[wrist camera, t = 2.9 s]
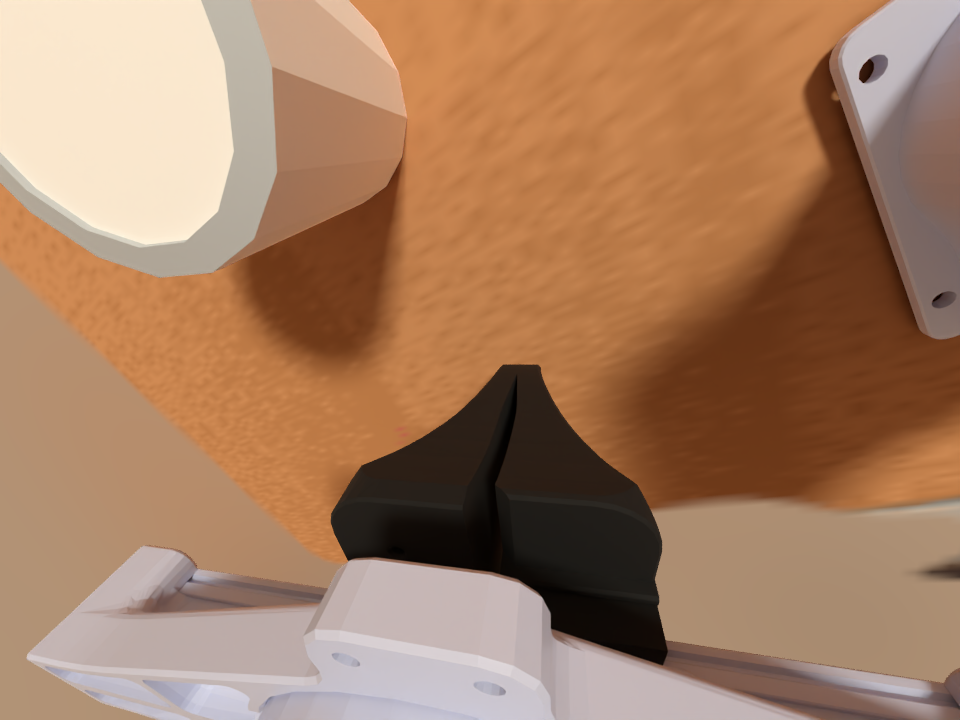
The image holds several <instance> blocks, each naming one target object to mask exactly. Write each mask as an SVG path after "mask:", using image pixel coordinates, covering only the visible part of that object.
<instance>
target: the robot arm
mask: <svg viewBox="0 0 960 720" xmlns="http://www.w3.org/2000/svg"><path fill="white" fill-rule="evenodd" d="M868 59H871V60H872V62H873V63H874V71H873V73H872V75H871V76H870V78H869V79H868V80H867V81H866V82H865V83H862V82H861V81H860V80H859V71H860V69H861V68H862V66H863V64H864V63H865V62H866V61H867V60H868ZM829 66H830V72H831V75H832V78H833V81H834V84H835V87H836V90H837V93H838V96H839V98H840V101H841V104H842V107H843V110H844V113H845V116H846V119H847V122H848V124H849V127H850V130H851V133H852V136H853V139H854V142H855V145H856V148H857V151H858V153H859V156H860V159H861V162H862V165H863V168H864V171H865V174H866V177H867V179H868V182H869V185H870V188H871V191H872V194H873V197H874V200H875V203H876V206H877V208H878V211H879V214H880V217H881V220H882V223H883V226H884V229H885V232H886V234H887V237H888V240H889V243H890V246H891V249H892V252H893V255H894V258H895V261H896V263H897V266H898V269H899V272H900V275H901V278H902V281H903V284H904V287H905V289H906V292H907V295H908V298H909V301H910V304H911V307H912V310H913V313H914V316H915V318H916V321H917V324H918V327H919V330H920V331H921V332H922V333H923V334H925V335H928V336H930V337H932V338H935V339H948V338H952V337H955V336H958V335H960V0H890V1H889V2H888V3H886V4H885V5H884V6H882V7H881V8H880V9H878V10H877V11H876V12H874V13H873V14H872V15H870V16H869V17H867V18H866V19H865V20H863V21H862V22H861V23H859V24H858V25H857V26H855V27H854V28H853V29H851V30H850V31H849V32H847V33H846V34H845V35H844V36H843V37H842V38H841V39H840V40H839V41H838V43H837V45H836V46H835V48H834V49H833V51H832V54H831V57H830V60H829ZM941 293H943V295H942V296H941V297H940V298H939V299H938V300H936V301H934V302H932V301H933V299H934V298H935V297H936V296H937V295H939V294H941ZM331 524H332V528H333V531H334V534H335V536H336V538H337V540H338V542H339V544H340V546H341V548H342V550H343V552H344V554H345V556H346V558H347V560H348V562H347V563H346V564H344V565H343V566H342V567H340V568H339V569H338V570H337V572H336V574H335V576H334V578H333V580H332V582H331V584H330V586H329V588H321V587H315V586H308V585H301V584H294V583H289V582H282V581H276V580H269V579H263V578H256V577H249V576H243V575H236V574H230V573H223V572H217V571H210V570H204V569H197V565H196V564H195V562H194V561H193V560H192V559H191V557H189V556H188V555H187V554H186V553H184V552H182V551H180V550H176V549H172V548H165V547H158V546H151V545H145V546H142V547H141V548H140V549H139V550H138V551H136V553H134V554H133V555H132V556H131V557H130V558H129V559H128V560H127V561H126V562H125V563H124V564H123V565H122V566H120V567H119V569H117V570H116V571H115V572H114V573H113V574H112V575H111V576H110V577H109V578H108V579H107V580H106V581H104V582H103V583H102V584H101V585H100V586H99V587H98V588H97V589H96V590H95V591H94V592H93V593H92V594H91V595H90V596H89V597H88V598H86V599H85V600H84V601H83V602H82V603H81V604H80V605H79V606H78V607H77V608H76V609H75V610H74V611H73V612H72V613H70V614H69V615H68V616H67V617H66V618H65V619H64V620H63V621H62V622H61V623H60V624H59V625H58V626H57V627H56V628H55V629H53V630H52V631H51V632H50V633H49V634H48V635H47V636H46V637H45V638H44V639H43V640H42V641H41V642H40V643H39V644H37V646H35V648H33V649H32V650H31V651H30V652H29V653H28V655H27V660H29V661H30V662H32V663H34V664H36V665H37V666H39V667H41V668H42V669H44V670H46V671H48V672H49V673H51V674H53V675H54V676H56V677H58V678H60V679H61V680H63V681H65V682H66V683H68V684H70V685H72V686H73V687H75V688H77V689H78V690H80V691H82V692H84V693H85V694H87V695H89V696H90V697H92V698H94V699H96V700H97V701H99V702H101V703H103V704H107V705H110V706H114V707H117V708H121V709H124V710H127V711H131V712H135V713H137V714H141V715H144V716H147V717H150V718H153V719H156V720H960V668H958V669H956V670H955V671H953V672H952V673H951V674H950V675H949V676H948V677H947V678H946V680H945V682H944V683H940V682H933V681H926V680H920V679H914V678H907V677H901V676H894V675H888V674H881V673H875V672H868V671H862V670H855V669H849V668H842V667H836V666H829V665H823V664H816V663H810V662H803V661H797V660H790V659H783V658H777V657H771V656H764V655H758V654H751V653H745V652H737V651H732V650H725V649H718V648H712V647H705V646H699V645H692V644H686V643H679V642H673V641H666V640H665V636H664V633H663V628H662V624H661V619H660V615H659V611H658V607H657V605H658V604H659V595H658V591H657V587H656V583H655V576H656V572H657V568H658V565H659V561H660V556H661V553H662V540H661V536H660V532H659V529H658V526H657V524H656V521H655V519H654V517H653V514H652V512H651V510H650V508H649V506H648V504H647V502H646V500H645V498H644V496H643V494H642V492H641V491H640V489H639V487H638V485H637V484H635V483H634V482H633V481H631V480H630V479H628V478H627V477H626V476H624V475H623V474H621V473H620V472H618V471H617V470H616V469H614V468H613V467H611V466H610V465H609V464H607V463H606V462H605V461H604V460H603V459H602V458H600V457H599V456H598V455H597V454H596V453H595V452H594V451H593V450H592V449H591V448H590V447H589V446H588V445H587V444H586V443H585V442H584V441H583V440H582V439H581V438H580V437H579V436H578V435H577V433H576V432H575V431H574V430H573V429H572V427H571V426H570V425H569V424H568V422H567V421H566V420H565V418H564V417H563V416H562V414H561V413H560V411H559V409H558V408H557V406H556V405H555V403H554V401H553V399H552V398H551V396H550V394H549V392H548V390H547V388H546V385H545V383H544V380H543V378H542V374H541V367H540V366H538V365H502V366H501V367H500V368H499V370H498V371H497V372H496V373H495V375H494V376H493V377H492V378H491V380H490V381H489V382H488V383H487V384H486V385H485V386H484V388H483V389H482V390H481V391H480V392H479V393H478V394H477V395H476V396H475V397H474V398H473V399H472V400H471V401H470V402H469V403H468V404H467V405H466V406H465V407H464V408H463V409H462V410H461V411H459V412H458V413H457V414H456V415H455V416H453V417H452V418H451V419H449V420H448V421H447V422H445V423H444V424H443V425H441V426H440V427H438V428H436V429H435V430H433V431H432V432H430V433H429V434H427V435H426V436H424V437H422V438H421V439H419V440H417V441H415V442H413V443H411V444H410V445H408V446H406V447H404V448H402V449H400V450H398V451H395V452H393V453H391V454H389V455H386V456H384V457H381V458H379V459H377V460H374V461H372V462H369V463H367V464H364V465H362V466H361V467H360V469H359V470H358V472H357V473H356V474H355V476H354V477H353V479H352V480H351V482H350V484H349V485H348V487H347V489H346V490H345V492H344V494H343V495H342V497H341V498H340V500H339V502H338V503H337V505H336V507H335V508H334V510H333V511H332V513H331Z"/></svg>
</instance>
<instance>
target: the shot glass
mask: <svg viewBox="0 0 960 720" xmlns="http://www.w3.org/2000/svg"><path fill="white" fill-rule="evenodd" d="M406 123H407V115H406V109H405V104H404V98H403V93H402V88H401V82H400V77H399V73H398V71H397V69H396V67H395V65H394V63H393V61H392V59H391V57H390V55H389V53H388V51H387V49H386V48H385V46H384V44H383V42H382V40H381V38H380V36H379V34H378V32H377V30H376V29H375V28H374V27H373V26H372V25H371V24H370V23H369V22H368V21H367V20H366V19H365V18H364V16H363V15H362V14H361V13H360V12H359V11H358V10H357V9H356V8H355V7H354V6H353V5H352V3H351V2H350V1H349V0H0V183H1V184H2V185H3V186H4V187H5V188H6V189H7V190H8V191H9V192H10V193H11V194H12V195H13V196H14V197H15V198H17V199H18V200H19V201H20V202H21V203H22V204H23V205H24V206H25V207H26V208H27V209H28V210H29V211H30V212H31V213H32V214H34V215H35V216H37V217H38V218H40V219H41V220H43V221H44V222H46V223H47V224H49V225H50V226H52V227H53V228H55V229H56V230H58V231H59V232H61V233H62V234H64V235H65V236H67V237H68V238H70V239H71V240H73V241H74V242H76V243H77V244H79V245H80V246H82V247H83V248H85V249H87V250H88V251H90V252H91V253H93V254H94V255H96V256H97V257H99V258H102V259H105V260H108V261H111V262H114V263H117V264H120V265H123V266H126V267H129V268H132V269H135V270H138V271H141V272H144V273H147V274H150V275H153V276H156V277H159V278H160V277H171V276H182V275H193V274H204V273H213V272H215V271H217V270H220V269H222V268H224V267H226V266H228V265H230V264H233V263H235V262H237V261H239V260H241V259H243V258H246V257H248V256H250V255H252V254H254V253H256V252H259V251H261V250H263V249H265V248H267V247H269V246H272V245H274V244H276V243H278V242H280V241H282V240H285V239H287V238H289V237H291V236H293V235H295V234H298V233H300V232H302V231H304V230H306V229H308V228H311V227H313V226H315V225H317V224H319V223H321V222H324V221H326V220H328V219H330V218H332V217H334V216H337V215H339V214H341V213H343V212H345V211H347V210H350V209H352V208H354V207H356V206H358V205H360V204H363V203H364V202H366V201H367V200H369V199H370V198H371V197H373V196H374V195H375V194H377V193H378V192H380V191H381V190H382V189H384V188H385V187H386V186H387V185H388V183H389V181H390V179H391V177H392V175H393V173H394V172H395V170H396V168H397V166H398V164H399V162H400V160H401V158H402V155H403V147H404V139H405V131H406Z"/></svg>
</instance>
